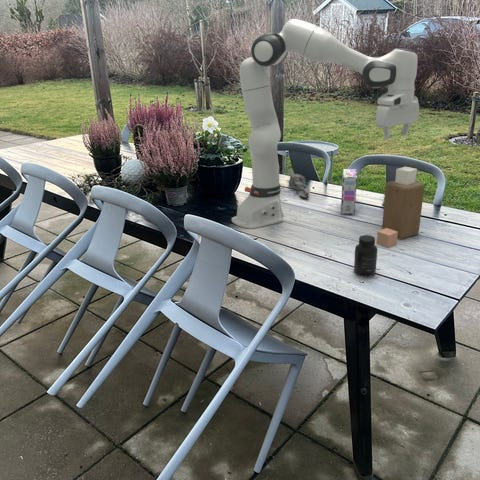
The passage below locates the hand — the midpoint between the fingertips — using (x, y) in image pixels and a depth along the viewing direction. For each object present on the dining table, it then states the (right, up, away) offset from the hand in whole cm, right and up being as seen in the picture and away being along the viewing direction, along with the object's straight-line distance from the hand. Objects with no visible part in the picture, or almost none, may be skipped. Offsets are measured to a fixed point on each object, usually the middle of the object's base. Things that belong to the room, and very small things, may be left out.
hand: (395, 137), depth 171 cm
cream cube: (+3, -17, -1) cm, 17 cm away
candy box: (-10, -24, +34) cm, 43 cm away
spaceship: (-28, -13, +62) cm, 70 cm away
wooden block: (+4, -35, +7) cm, 36 cm away
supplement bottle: (-17, -48, -20) cm, 55 cm away
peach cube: (-4, -39, -1) cm, 39 cm away
